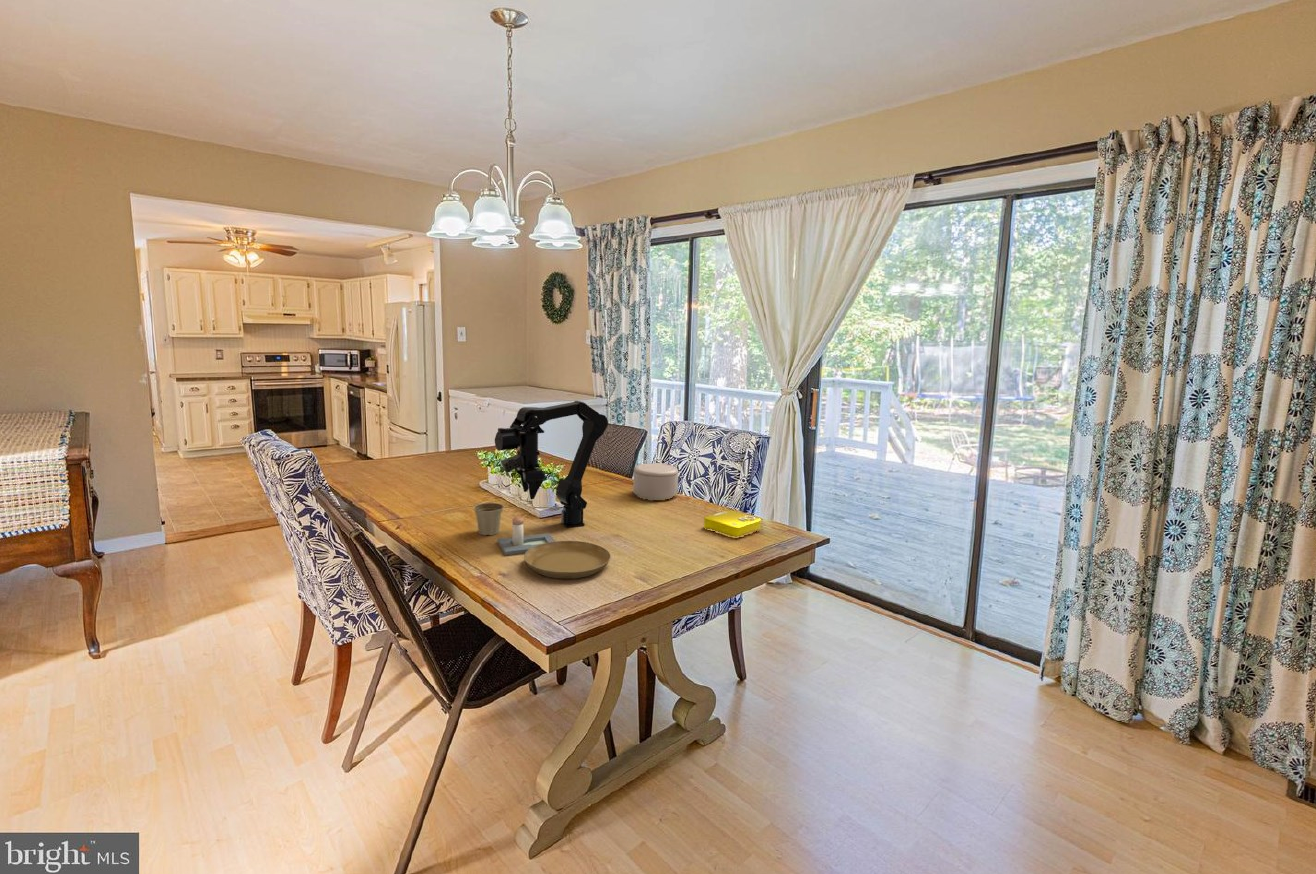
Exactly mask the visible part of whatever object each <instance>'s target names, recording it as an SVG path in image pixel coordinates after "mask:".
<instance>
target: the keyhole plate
mask: <svg viewBox="0 0 1316 874" xmlns="http://www.w3.org/2000/svg"><path fill="white" fill-rule="evenodd" d="M555 541H556V540H555V539H554V538H553V536H552V535H551V534H550V533H549V532H546V533H537V534H530V535H523V545H520V546H513V536H509V537H499V538H497V543H498V545H499V548H501V549H500V550H502V552H503V554H504V556H505V557H506V556H514V555H515V556H517V555H520V554H521V555H525V553H526V552H527V551H528V550H529V549H531V548H532V547H535V546H537V545H540V544H544V543H548V542H555Z"/></svg>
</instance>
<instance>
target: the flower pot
mask: <svg viewBox="0 0 1316 874" xmlns="http://www.w3.org/2000/svg"><path fill="white" fill-rule="evenodd" d="M504 508H505V506H504V504H501V503H497V502H483V503H479V504H476V505H474V506H473V508H472V509H473V511H474V514H475V516H476V520H477V521H476V522H477V529H478V533H479V535H482V536H487V535H488V536H494V535H498V534H499V532H500V527H501V526H500V525H501V518H502V513H503V509H504Z"/></svg>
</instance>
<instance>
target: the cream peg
mask: <svg viewBox="0 0 1316 874" xmlns="http://www.w3.org/2000/svg"><path fill="white" fill-rule="evenodd" d="M511 522H512V537H513V546H520V545H523V536H524V518H523V517H512V521H511Z"/></svg>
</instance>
